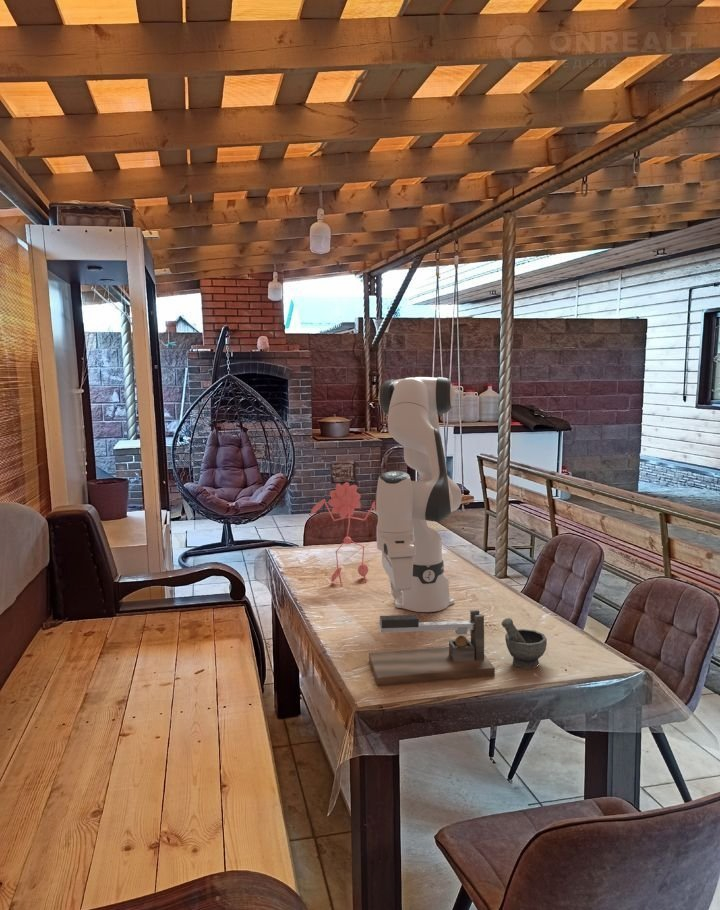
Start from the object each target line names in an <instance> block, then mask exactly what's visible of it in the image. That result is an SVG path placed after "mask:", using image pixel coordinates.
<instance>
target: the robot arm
mask: <svg viewBox="0 0 720 910" xmlns="http://www.w3.org/2000/svg"><path fill="white" fill-rule="evenodd" d="M377 397H378V404H379V406H380V409H381V411H382V412H383V413H384V414H386V415H387V430H388V433H389V435H390V436H391V437H392V438H393V440H395V442H396V443H398V444H399V445H401V446H403V460H404V462H405V464H406V465H407V466H408V467H409V468H410V469H412V470H415V471H417V473H418V474H419V475H418V476H419V480H411V479H412V478H411V476H410V474H409V473H407V472H405V471H402V470H401V471H400V470H389V471H386V472H383V473H381V474H380V475H379V477H378V478H377V479H378V480H377V485H376V487H377V488H376V490H375V493H374V501H375V510H376V511H375V510H374V511H375V512H376V514H377V515H376V516H377V524H376V548H377V550H379V551H381V564H382V567H383V569H384V571H385V573H386V575H387V576H388V579H389V583H390V590H391V593H390V594H391V596H392V598H393V599H395V600H394V601H395V602H394V607H395V608H398V609H405V610H408V611H411V612H417V613H419V612H420V613H432V612H433V613H435V612H439V611H443V610H445V609H446V608H448V607H449V606H451V605H454V604H455V599H454V598H452V597H451V596H450V581H449V577H448V576H447V575H445V573H444V572H445V571H444V569H445V564H444V563H445V562H444V559H443V541H442V539H443V538H442V536H441V534H440V533H439V532H438V531H437V530H435V529H434V528H431V527H429V526H428V523H427V522H428V521H429V522H436V523H440V522H441V523H442V521H444V520H446V519H447V518H448V517H449V516H450V515H451V514H452V512H454V511H457V510H458V509H459V508H460V506H461V503H462V499H463V495H462V491H461V488H460V487H459V485H458V484H457V483H456V482H455V481H454V480H452V478H451V477H449V475H448V471H447V463H446V459H445V451H444V447H443V446H444V445H443V441H442V440H443V439H442V436H441V433H440V432H441V431H440V430H441V429H440V423H439V417H440V418H442V417H443V414H446V413H449V411H450V410H451V409H452V408H453V405H454V402H455V399H456V393H455V388H454V385H453V382H452V381H451V380H450V379H449V378H447V377H442V376H437V377H433V376H432V377H431V376H415V377H405V378H399V379H395V378H393V379H389V380H386V381H384V382H383V383H382V384H381V385H380V387H379V391H378V396H377Z"/></svg>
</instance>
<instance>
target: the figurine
mask: <svg viewBox="0 0 720 910" xmlns="http://www.w3.org/2000/svg"><path fill="white" fill-rule="evenodd" d="M334 489H335V490H330V491H329V497H330V499H329V500H328V502H326V499H325V498H323V500H319V502H317V503H316V504H315V505H314V506H313V508H312V509H311V511H310V514H309V515H310V516H311V515H314V514H315V513H317V512H318V511H319V510H320V509H321V508H322V507H323V506H324V505H325V507H326V509H327V511H328V513H329V516H330V517H331V519H332V520H333V522H336V521H341V520H345V519H348V520H347V521H348V525H347V531H346V536H345V537H344V538H343V542H342V543H341V544H340V545H339V547H338V548H337V549H336V550H335V556H336V559H335V560H336V570H335V571H333V574H331V583H333V582H335V580H336V579H337V578H338V579H339V583H340V587H343V581H342V577H341V574H340V573H342V567H339V562H338V561H339V560H338V552H339V550H340V548H341V547H342V546H343V545H344V544H345V545H350V544H351V543H353V544H355V545H357V546H361V547H362V558H361V559H362V561H361V564H360V565H359V566H358V568H357V573H358V575H360V576H361V577H363V578H364V582H365V583H367V578H366V577H367V574H368V573H369V567H368V565H367V564H365V563H364V558H365V556H364V555H365V554H364V553H365V547H364V545H362V544H360V543H357V542H354V541H353V540H352V538H351V537H350V536H349V531H350V526H351V519H353V520H354V519H355V520H359V521H365V520H367V519H368V517H369V515H370V514H371V512H372V511H374V512H376V510H375V500H374V501H373V502H372V503H371V507H370V508H369V511H368V512H367V514H366V515H365V517H364V518H360V517H355V516H354V514H355V509H361V507H362V504H361V501H360V499H361V497H362V496H361V494H360V493H359V492H357V491H358V485H355V484H352V485H350V483H349V482H348V481H347V482H346V481H345V483H343V484H340V482H339V483H337V484H336V485H335V488H334ZM328 505H329V506H330V507H332V508H331V510H330V508H329V506H328ZM333 514H339V517H340V518H336V519H335V518H334V516H333Z"/></svg>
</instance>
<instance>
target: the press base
mask: <svg viewBox="0 0 720 910" xmlns="http://www.w3.org/2000/svg"><path fill="white" fill-rule="evenodd" d="M469 612H470V613H469V614H470V615H469V616H470V617H469V619H470V620H469V621H475V630H469V631H470V639H469V638H467V641H468V644H467V646H466V647H457V645H456V643H455V640H456V639H454V640H453V639H452V640H448V646H439V647H430V648H417V649H404V650H391V651H378V652H377V651H376V652H369V653H368V660H369V664H370V667H371V669H372V673H373V676H374V678H375V683H376V685H377V687H382V686H384V687H385V686H396V685H404V684H405V685H406V684H417V683H418V684H419V683H429V682H441V681H451V680H463V679H471V678H472V679H473V678H485V677H495V675H496V672H495V671H496V669H495V666H494V665H493V663H492V662H491V661H490V660H489V659H488V657H487V655H486V654H485V615H483V614H480V610H479V609H471V610H470V611H469Z"/></svg>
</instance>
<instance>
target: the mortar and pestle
mask: <svg viewBox="0 0 720 910" xmlns="http://www.w3.org/2000/svg"><path fill="white" fill-rule="evenodd" d="M501 626H502V628H504V629H505V631H506V633H505V644H506V648H507V650H508V652H509V654H510V656H511V657H512V663H513V665H514V666H515V665H516V666H515V667H517V666H518V667H517V668H519V667H520V668H519V669H524V668H527V669H526V670H529V669H528V668H532V669H535V668H534V667H536V666H537V665H538V664H539V665H540V663H539V659H540V658H541V657H542V656H544V654H545V652H546V650H547V646H548V645H547V644H548V643H547V637H546V635H545V634H544V633H542V632H540V631H536V630H533V629H525V628H521V629H519V628H518V629H517V627H516V626H515V625H514V621H513V619H512V617H508V618H505V619H503V620H502V621H501ZM537 667H538V666H537ZM537 667H536V668H537Z"/></svg>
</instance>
